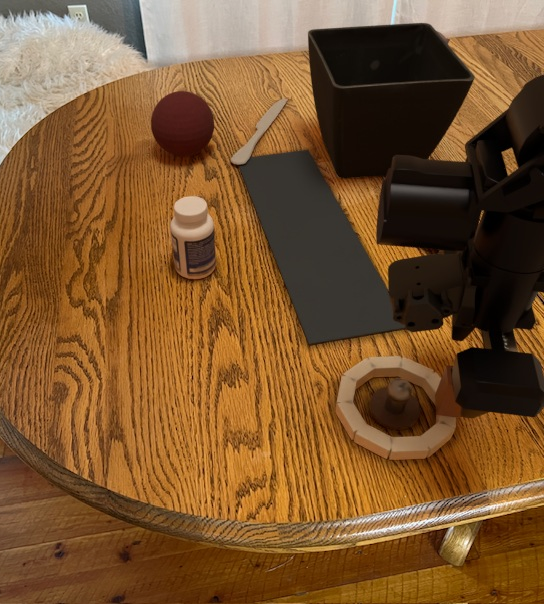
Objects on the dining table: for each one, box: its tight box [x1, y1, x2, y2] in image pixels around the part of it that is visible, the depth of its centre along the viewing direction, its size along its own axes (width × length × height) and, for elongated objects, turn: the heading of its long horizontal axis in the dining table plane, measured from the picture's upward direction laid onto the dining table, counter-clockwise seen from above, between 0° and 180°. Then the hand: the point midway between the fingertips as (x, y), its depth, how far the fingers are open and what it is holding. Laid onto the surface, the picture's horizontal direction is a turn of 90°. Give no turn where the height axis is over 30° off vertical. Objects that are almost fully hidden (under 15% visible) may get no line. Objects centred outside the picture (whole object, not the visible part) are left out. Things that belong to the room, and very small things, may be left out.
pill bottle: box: [169, 195, 217, 280], centre depth 75 cm, size 5×5×10 cm
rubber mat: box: [237, 149, 406, 346], centre depth 83 cm, size 40×12×1 cm, turn 11°
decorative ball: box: [150, 90, 215, 158], centre depth 95 cm, size 10×10×10 cm
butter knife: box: [230, 98, 289, 166], centre depth 102 cm, size 1×24×3 cm
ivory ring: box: [334, 355, 463, 461], centre depth 60 cm, size 12×12×7 cm
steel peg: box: [368, 377, 421, 431], centre depth 60 cm, size 5×5×4 cm
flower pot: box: [307, 22, 476, 179], centre depth 90 cm, size 19×19×17 cm
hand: (461, 375), depth 57 cm, fingers open, 9 cm apart
